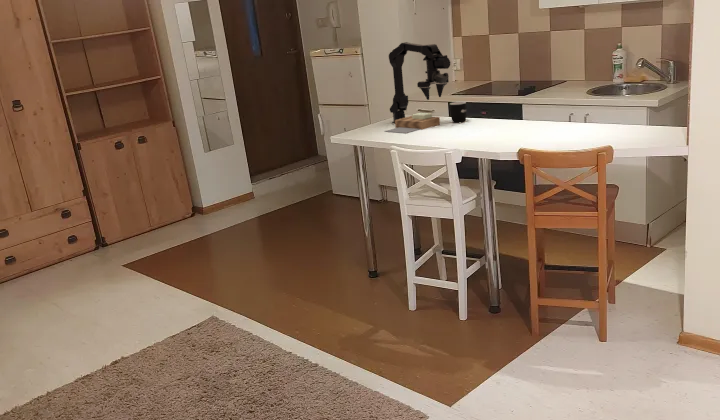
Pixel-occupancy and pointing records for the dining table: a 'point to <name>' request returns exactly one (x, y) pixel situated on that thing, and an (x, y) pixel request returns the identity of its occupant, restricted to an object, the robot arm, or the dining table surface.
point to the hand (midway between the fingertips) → (434, 98)
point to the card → (422, 115)
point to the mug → (458, 111)
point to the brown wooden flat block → (417, 122)
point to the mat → (402, 130)
